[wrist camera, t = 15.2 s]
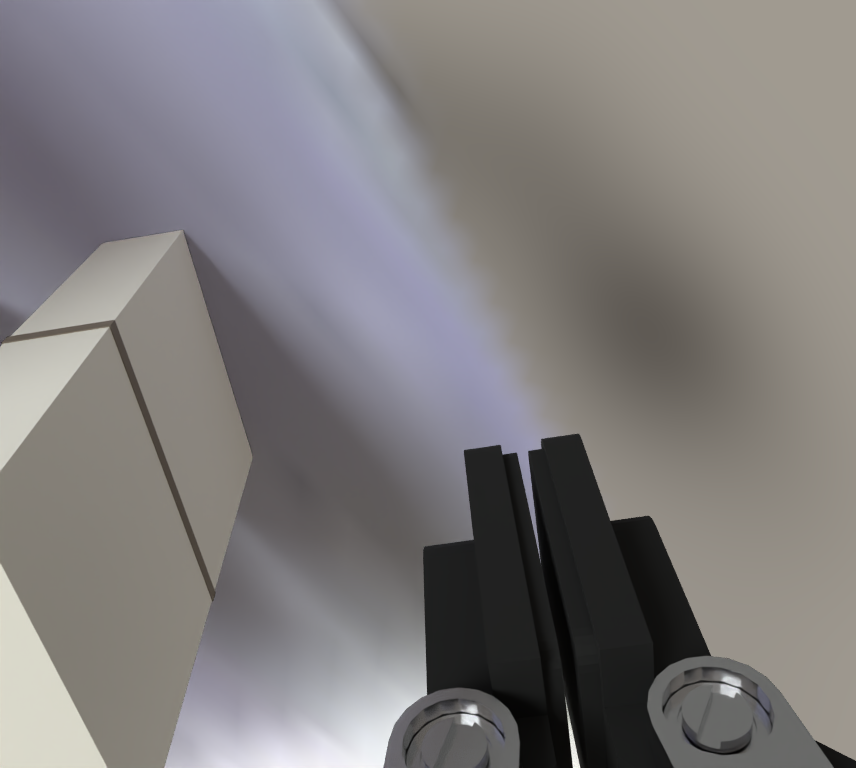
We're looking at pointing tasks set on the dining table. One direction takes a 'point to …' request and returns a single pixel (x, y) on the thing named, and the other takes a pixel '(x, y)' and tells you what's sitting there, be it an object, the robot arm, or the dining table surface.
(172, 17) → the dining table surface
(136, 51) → the dining table surface
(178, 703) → the domino
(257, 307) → the dining table surface
